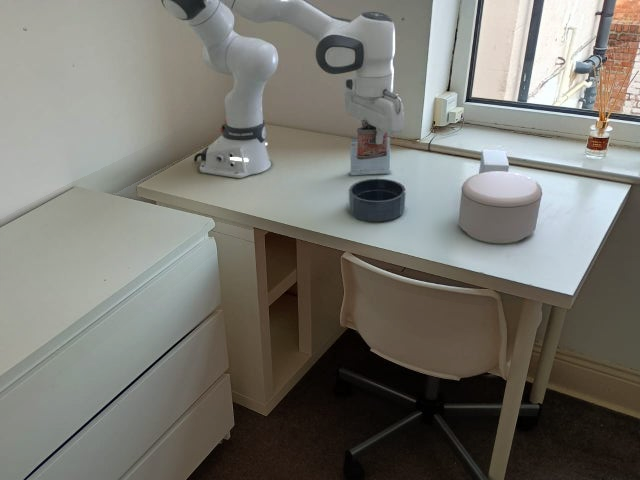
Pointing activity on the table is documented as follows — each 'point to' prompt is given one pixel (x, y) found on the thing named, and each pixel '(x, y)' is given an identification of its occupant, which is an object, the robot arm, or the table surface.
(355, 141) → the ink box
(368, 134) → the lighter
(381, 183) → the bowl
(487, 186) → the container
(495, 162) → the cosmetics box
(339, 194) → the table surface
